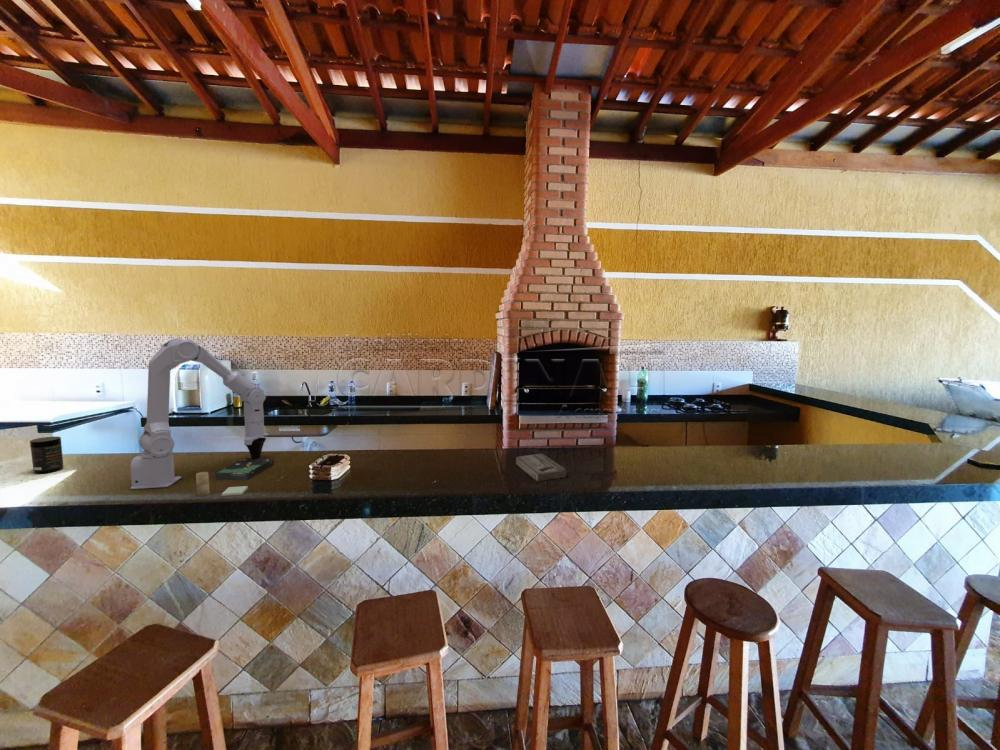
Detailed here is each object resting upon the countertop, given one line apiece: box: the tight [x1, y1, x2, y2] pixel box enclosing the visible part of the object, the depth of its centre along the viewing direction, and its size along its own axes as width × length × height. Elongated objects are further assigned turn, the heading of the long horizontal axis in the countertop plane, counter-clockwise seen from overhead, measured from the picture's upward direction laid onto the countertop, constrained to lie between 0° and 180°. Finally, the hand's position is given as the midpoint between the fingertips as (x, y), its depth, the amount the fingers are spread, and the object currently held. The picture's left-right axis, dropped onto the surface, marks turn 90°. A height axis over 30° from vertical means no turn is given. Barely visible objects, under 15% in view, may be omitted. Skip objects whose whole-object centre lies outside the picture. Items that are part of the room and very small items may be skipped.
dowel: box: [195, 471, 210, 497], centre depth 117 cm, size 3×3×6 cm
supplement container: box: [29, 436, 65, 475], centre depth 133 cm, size 7×7×10 cm
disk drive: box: [214, 457, 275, 481], centre depth 136 cm, size 10×3×15 cm
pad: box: [221, 485, 249, 497], centre depth 119 cm, size 5×5×1 cm
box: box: [515, 452, 567, 482], centre depth 141 cm, size 11×17×3 cm, turn 22°
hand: (256, 459), depth 145 cm, fingers closed
